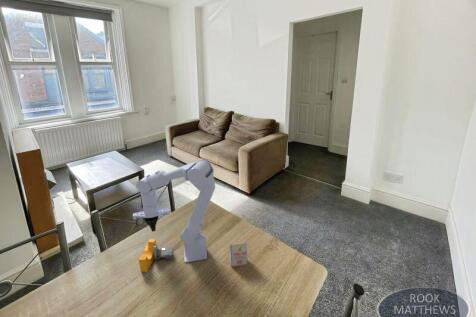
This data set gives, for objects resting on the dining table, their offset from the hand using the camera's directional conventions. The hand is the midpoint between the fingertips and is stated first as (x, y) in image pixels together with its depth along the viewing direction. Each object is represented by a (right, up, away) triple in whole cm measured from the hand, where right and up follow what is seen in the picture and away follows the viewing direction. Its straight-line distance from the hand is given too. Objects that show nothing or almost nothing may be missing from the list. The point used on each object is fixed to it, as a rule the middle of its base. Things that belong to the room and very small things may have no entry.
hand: (153, 229), depth 105 cm
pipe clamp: (-1, -12, -4) cm, 13 cm away
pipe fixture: (+6, -11, -2) cm, 12 cm away
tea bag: (+37, -12, -5) cm, 40 cm away
